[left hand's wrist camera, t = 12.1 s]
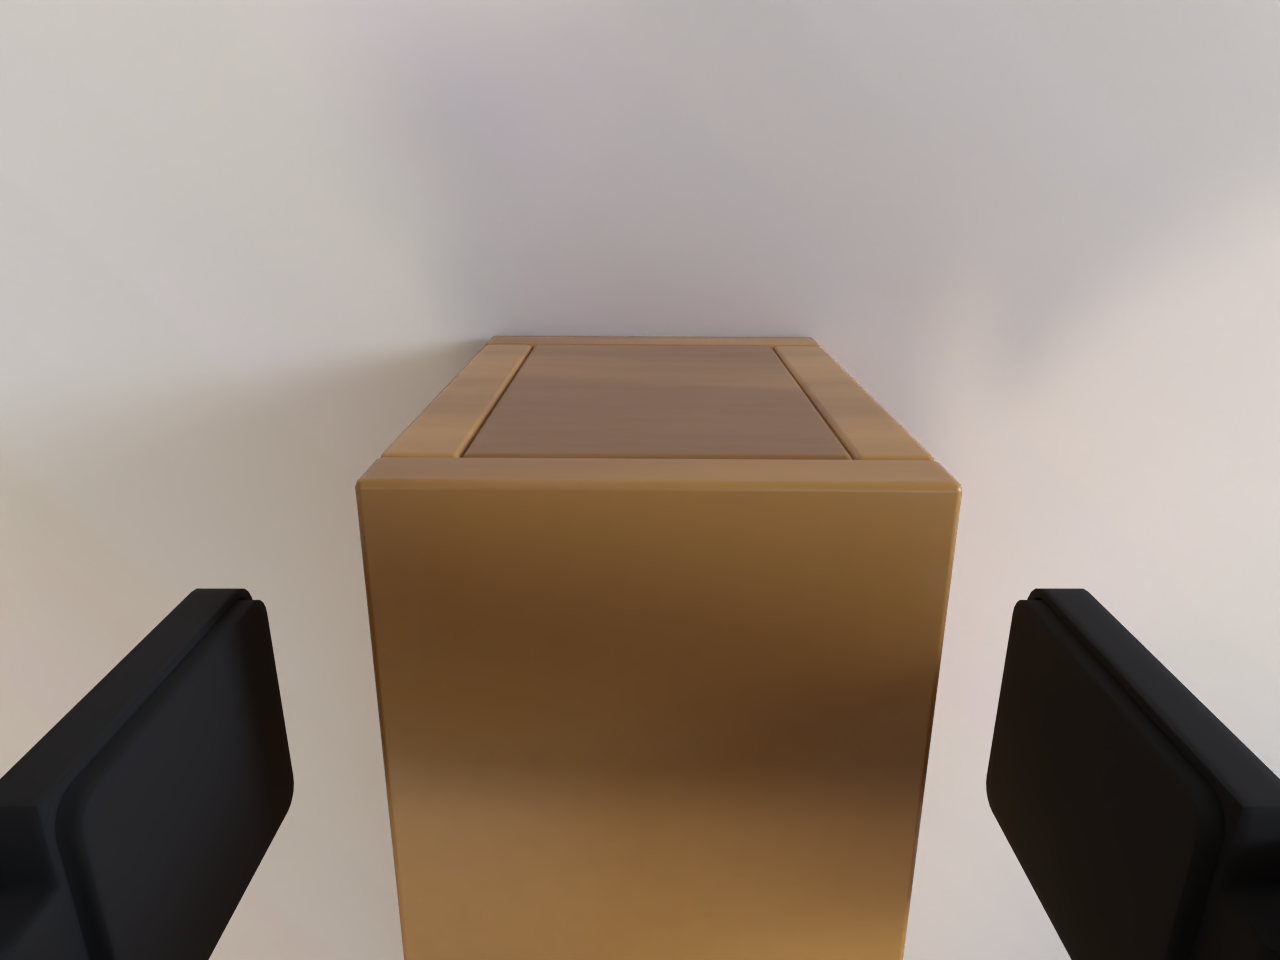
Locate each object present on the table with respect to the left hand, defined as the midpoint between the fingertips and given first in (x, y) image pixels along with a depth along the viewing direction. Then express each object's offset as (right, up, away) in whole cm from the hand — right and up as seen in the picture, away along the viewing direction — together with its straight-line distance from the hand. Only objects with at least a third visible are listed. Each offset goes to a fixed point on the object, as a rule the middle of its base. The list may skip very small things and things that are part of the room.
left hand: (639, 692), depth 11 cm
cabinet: (0, -4, +9) cm, 10 cm away
